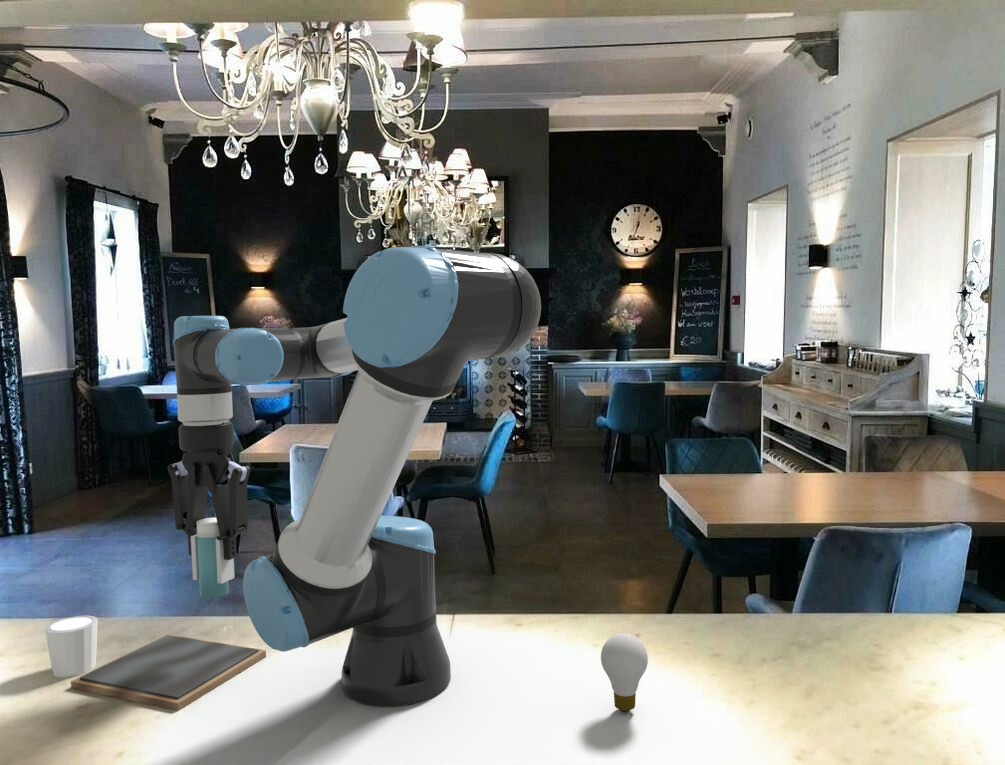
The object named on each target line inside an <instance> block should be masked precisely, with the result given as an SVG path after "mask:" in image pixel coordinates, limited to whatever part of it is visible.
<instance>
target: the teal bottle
mask: <svg viewBox="0 0 1005 765" xmlns="http://www.w3.org/2000/svg"><path fill="white" fill-rule="evenodd" d="M196 523H197V543H198V563H199V580H198V581H199V582H198V584H199V596H200V598H202V599H217V598H222V597H225V596H226V595H228V594H229V593H230V590H229V588H230V587H229V581H226V582H224V583H222V584H221V583H218V580H217V560H216V539H217V536H220V533H219V528H218V523H217V518H216V516H215V517H206V518H204V519H201V520H199V521H197V522H196Z"/></svg>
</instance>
